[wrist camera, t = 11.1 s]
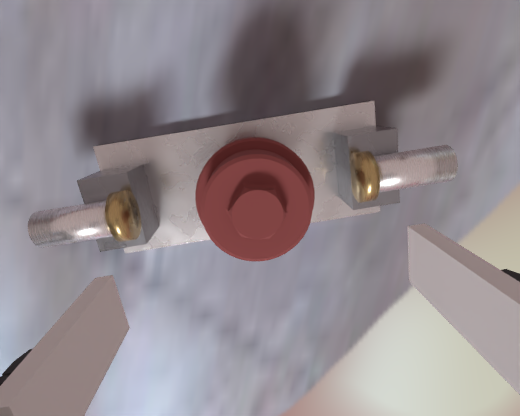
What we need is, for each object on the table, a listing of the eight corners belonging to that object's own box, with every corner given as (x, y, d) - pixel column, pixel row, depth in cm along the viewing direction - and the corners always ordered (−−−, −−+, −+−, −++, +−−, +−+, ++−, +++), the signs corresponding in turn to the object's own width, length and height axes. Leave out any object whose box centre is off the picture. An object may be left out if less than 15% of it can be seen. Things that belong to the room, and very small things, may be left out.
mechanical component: (204, 221, 36) (207, 128, 33) (293, 226, 37) (304, 135, 34) (185, 274, 24) (187, 138, 21) (317, 281, 25) (336, 149, 22)
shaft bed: (98, 254, 38) (50, 302, 28) (64, 151, 34) (-4, 166, 25) (406, 204, 38) (460, 235, 28) (403, 95, 34) (464, 90, 25)
